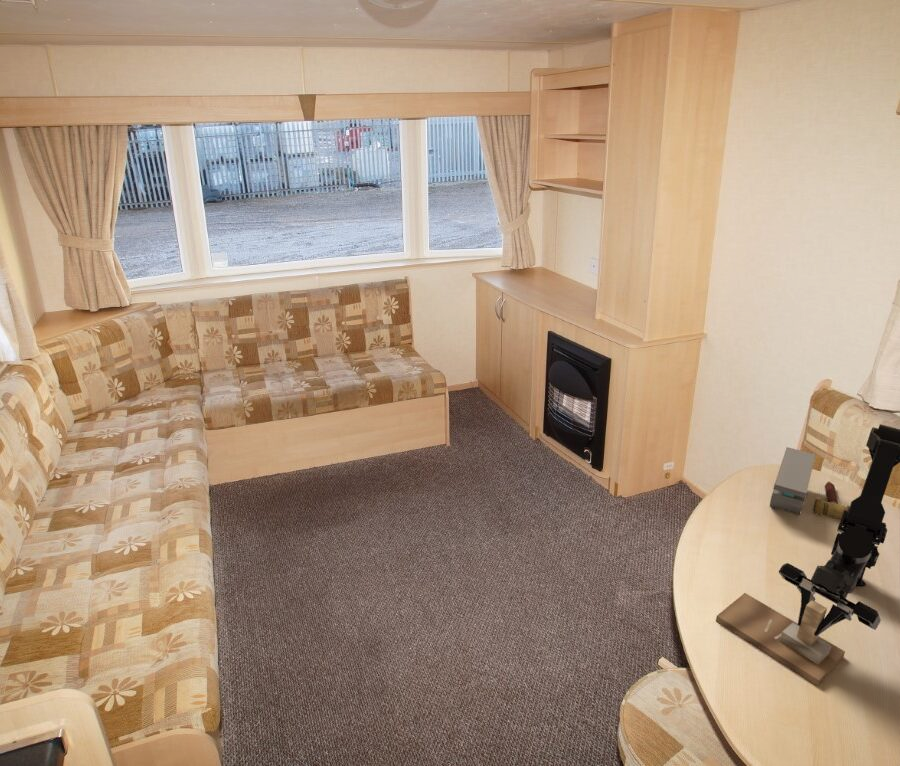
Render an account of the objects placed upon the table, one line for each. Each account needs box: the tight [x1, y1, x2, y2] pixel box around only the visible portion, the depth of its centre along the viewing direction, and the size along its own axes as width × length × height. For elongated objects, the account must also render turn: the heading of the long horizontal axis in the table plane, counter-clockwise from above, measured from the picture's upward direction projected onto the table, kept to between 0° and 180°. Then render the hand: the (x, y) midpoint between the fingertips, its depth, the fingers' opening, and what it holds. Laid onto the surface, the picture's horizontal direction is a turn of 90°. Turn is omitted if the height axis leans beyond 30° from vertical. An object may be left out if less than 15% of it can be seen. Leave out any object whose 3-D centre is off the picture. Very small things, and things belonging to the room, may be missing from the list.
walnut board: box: [715, 592, 846, 687], centre depth 139 cm, size 22×12×2 cm, turn 39°
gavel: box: [812, 480, 850, 520], centre depth 188 cm, size 21×5×10 cm
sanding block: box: [780, 600, 832, 665], centre depth 133 cm, size 8×4×11 cm, turn 38°
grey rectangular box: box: [769, 446, 817, 516], centre depth 186 cm, size 25×8×11 cm, turn 147°
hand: (806, 630), depth 132 cm, fingers closed on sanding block, 3 cm apart
